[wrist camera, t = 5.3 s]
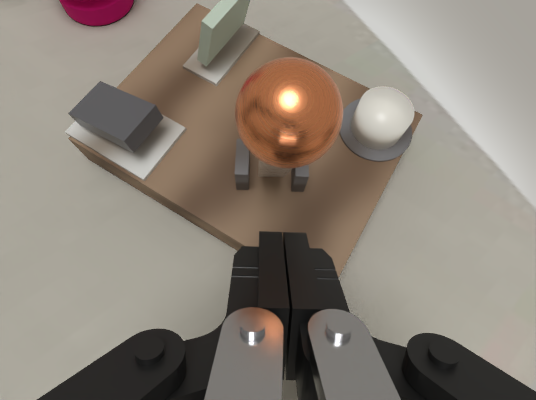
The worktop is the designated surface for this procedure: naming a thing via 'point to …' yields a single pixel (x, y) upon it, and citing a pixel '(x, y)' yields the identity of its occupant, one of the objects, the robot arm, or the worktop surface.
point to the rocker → (117, 116)
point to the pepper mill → (96, 10)
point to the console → (240, 149)
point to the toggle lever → (288, 114)
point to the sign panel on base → (220, 27)
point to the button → (381, 117)
